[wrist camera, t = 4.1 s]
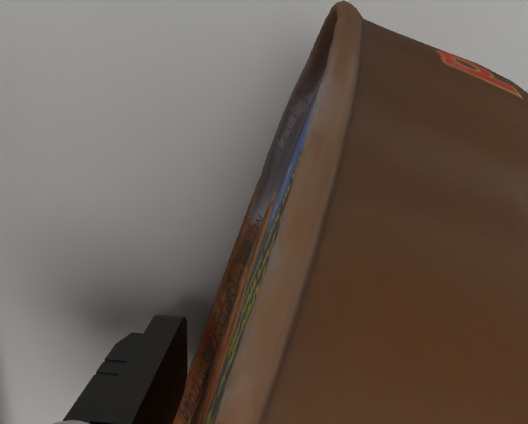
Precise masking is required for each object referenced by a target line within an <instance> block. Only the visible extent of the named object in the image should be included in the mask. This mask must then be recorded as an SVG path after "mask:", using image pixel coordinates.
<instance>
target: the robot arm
mask: <svg viewBox="0 0 528 424" xmlns="http://www.w3.org/2000/svg"><path fill="white" fill-rule="evenodd" d="M187 368H188V366H187V320H186V317H181V316H169V315H155V316H154V317H153V319H152V321H151V322H150V324H149V326H148V327H147V329H146V330H145V332H144V334H140V333H131V334H130V335H128V336H127V337H125V338H124V339H122V340H121V341H120V342H118V343H117V344H115V346H114V347H113V348H112V350H111V351H110V353H109V354H108V356H107V357H106V359H105V362H103V363H102V364H101V366H100V367H99V369H98V370H97V372H96V375H94V376H93V377H92V379H91V380H90V382H89V383H88V385H87V386H86V388H85V389H84V391H83V392H82V393H81V395H80V396H79V398H78V399H77V401H76V402H75V404H74V405H73V407H72V408H71V409H70V411H69V412H68V414H67V415H66V417H65V418H64V420H63V421H61V422H57V423H54V424H173V422H174V419H175V416H176V414H177V411H178V408H179V405H180V403H181V400H182V397H183V394H184V391H185V386H186V380H187Z"/></svg>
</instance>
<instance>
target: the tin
mask: <svg viewBox="0 0 528 424" xmlns="http://www.w3.org/2000/svg"><path fill="white" fill-rule="evenodd" d="M173 424H528V93H527V92H526V91H524V90H523V89H521V88H520V87H519V86H517V85H516V84H515V83H513V82H512V81H510V80H508V79H506V78H504V77H502V76H500V75H498V74H496V73H494V72H492V71H491V70H489V69H487V68H485V67H483V66H481V65H479V64H477V63H474V62H471V61H469V60H466V59H463V58H461V57H458V56H455V55H453V54H450V53H447V52H445V51H442V50H439V49H437V48H434V47H431V46H429V45H426V44H424V43H421V42H418V41H416V40H413V39H411V38H408V37H406V36H403V35H401V34H398V33H395V32H393V31H390V30H388V29H385V28H383V27H381V26H378V25H376V24H374V23H372V22H369V21H367V20H365V19H363V18H362V16H361V15H360V13H359V12H358V10H357V9H356V8H355V7H354V6H353V5H352V4H350V3H348V2H346V1H341V2H338V3H336V4H335V5H334V6H333V7H332V8H331V11H330V13H329V15H328V16H327V18H326V19H325V22H324V24H323V26H322V28H321V30H320V33H319V35H318V37H317V39H316V42H315V44H314V46H313V49H312V50H311V53H310V56H309V58H308V60H307V63H306V65H305V67H304V69H303V71H302V73H301V75H300V78H299V80H298V82H297V84H296V86H295V88H294V91H293V93H292V95H291V97H290V99H289V101H288V104H287V106H286V108H285V111H284V113H283V115H282V118H281V121H280V123H279V126H278V129H277V131H276V134H275V137H274V140H273V143H272V145H271V148H270V150H269V153H268V155H267V158H266V161H265V164H264V167H263V171H262V174H261V177H260V179H259V181H258V184H257V186H256V189H255V192H254V195H253V197H252V199H251V202H250V204H249V207H248V210H247V213H246V216H245V218H244V221H243V224H242V226H241V229H240V232H239V235H238V238H237V240H236V243H235V246H234V248H233V251H232V254H231V257H230V259H229V262H228V265H227V268H226V271H225V273H224V276H223V279H222V282H221V284H220V287H219V290H218V293H217V296H216V298H215V301H214V303H213V306H212V309H211V312H210V315H209V318H208V320H207V323H206V326H205V328H204V331H203V333H202V336H201V339H200V342H199V345H198V347H197V350H196V353H195V355H194V358H193V361H192V363H191V366H190V369H189V372H188V374H187V380H186V386H185V391H184V394H183V397H182V400H181V403H180V405H179V408H178V411H177V414H176V416H175V419H174V422H173Z"/></svg>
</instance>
